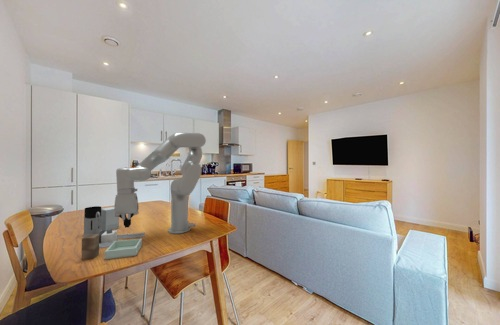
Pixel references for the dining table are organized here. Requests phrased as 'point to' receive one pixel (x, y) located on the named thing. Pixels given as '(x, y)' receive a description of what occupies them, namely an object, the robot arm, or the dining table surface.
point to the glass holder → (92, 220)
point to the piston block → (109, 236)
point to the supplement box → (109, 219)
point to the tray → (123, 248)
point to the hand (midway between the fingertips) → (127, 226)
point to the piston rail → (118, 238)
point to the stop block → (90, 246)
